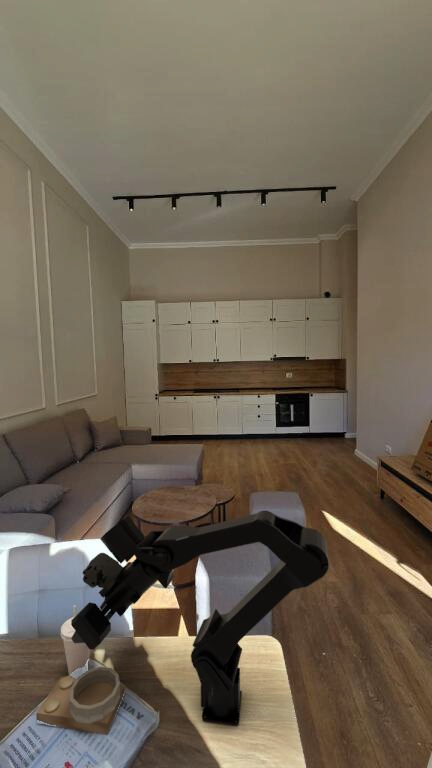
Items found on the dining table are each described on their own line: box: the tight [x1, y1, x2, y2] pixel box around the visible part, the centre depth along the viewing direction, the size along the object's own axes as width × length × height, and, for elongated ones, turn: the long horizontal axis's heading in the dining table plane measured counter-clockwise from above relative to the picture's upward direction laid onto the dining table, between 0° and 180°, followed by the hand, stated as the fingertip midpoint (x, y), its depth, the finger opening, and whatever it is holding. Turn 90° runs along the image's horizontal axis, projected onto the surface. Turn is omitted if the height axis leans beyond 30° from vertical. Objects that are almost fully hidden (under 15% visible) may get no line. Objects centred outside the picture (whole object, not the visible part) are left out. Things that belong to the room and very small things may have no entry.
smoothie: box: [60, 604, 91, 676], centre depth 73 cm, size 6×6×14 cm
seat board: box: [35, 666, 126, 735], centre depth 65 cm, size 13×8×4 cm, turn 81°
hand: (88, 623), depth 72 cm, fingers open, 9 cm apart
